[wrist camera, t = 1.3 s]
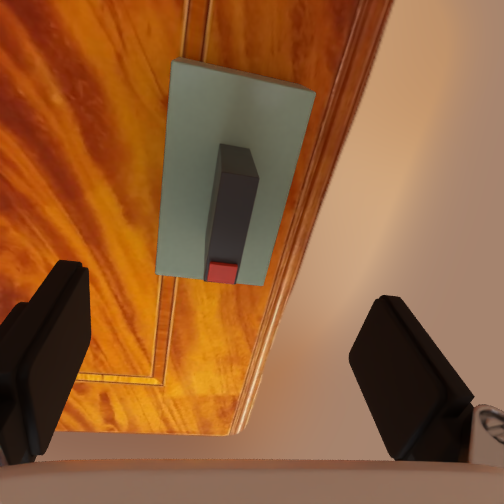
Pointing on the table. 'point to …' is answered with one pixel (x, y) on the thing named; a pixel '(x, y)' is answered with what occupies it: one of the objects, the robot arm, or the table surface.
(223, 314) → the table surface
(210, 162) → the panel
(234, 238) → the knob
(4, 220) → the table surface
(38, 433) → the robot arm
